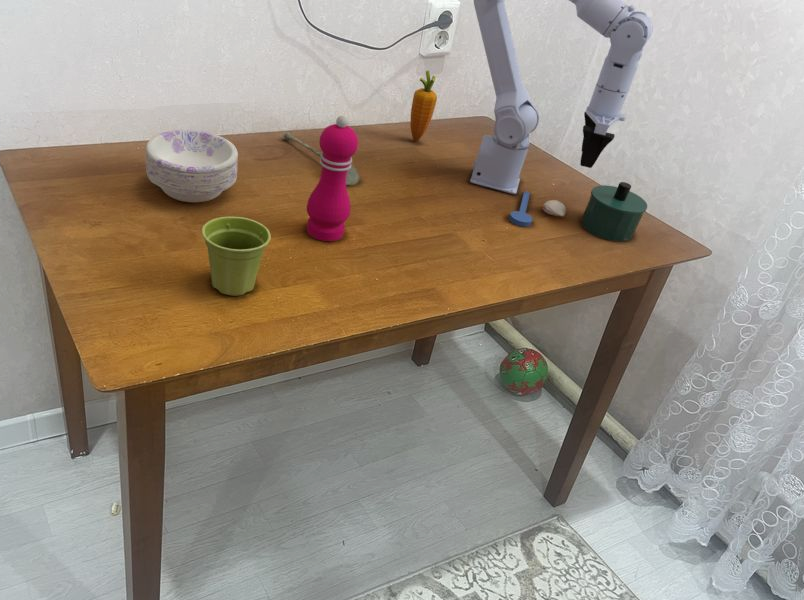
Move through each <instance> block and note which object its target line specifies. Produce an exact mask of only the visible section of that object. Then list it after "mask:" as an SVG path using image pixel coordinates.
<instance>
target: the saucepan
mask: <svg viewBox="0 0 804 600" xmlns="http://www.w3.org/2000/svg"><path fill="white" fill-rule="evenodd" d="M643 215H644V213H641V214H626V213H621V212H617V211H614V210H611V209H609V208H607V207H604V206H603V205H601V204H599V203H598V202H597V201H595V200H594V199H593V197H592V195H591V194H590V197H589V200H588V202H587V205H586V207H585V209H584V212H583V214H582V217H581V225H582V227H583V228H584V229H585V230H586V231H587V232H589V233H590V234H591V235H594V236H596V237H597V238H598V237H599V238H601V239H604V240H608V241H612V242H626V241H627V242H628V241H630V240H631V239H632V237H633V236H634V235H635V232H636V230H637V229H638V226H639V223H640V221H641V219H642V217H643Z"/></svg>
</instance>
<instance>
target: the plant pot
mask: <svg viewBox="0 0 804 600" xmlns="http://www.w3.org/2000/svg"><path fill="white" fill-rule="evenodd" d="M201 235H202V238H203V240H204V242H205V245H206V247H207V252H208V261H209V270H210V278H211V279H210V280H211V285H212V287H213V288H214V289H215V290H218V292H219V293H220V294H224V295H227V296H233V297H234V296H235V297H236V296H238V297H239V296H243V295H245V293H249V292H251V291H252V290H253V289H254V288H255V284H256V281H257V280H256V279H257V275H258V271H259V269H260V264H261V260H262V257H263V253H264V251H265V250H266V247H267V246H268V244H269V243H270V241H271V238H272V237H271V232H270V230H269V228H268V227H266V226H265V225H264V224H262V223H261V222H258V221H256V220H254V219H251V218H247V217H243V216H232V215H231V216H221V217H220V216H219V217H216V218H213V219H210V220H208V221H207V222H206V223H205V224H203V225H202V228H201Z"/></svg>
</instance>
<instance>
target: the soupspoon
mask: <svg viewBox="0 0 804 600" xmlns="http://www.w3.org/2000/svg"><path fill="white" fill-rule="evenodd" d="M282 137H283V140H285V141H289V140H290V141H292V142H295V143H297V144H299V145H301V146H302V147H304V148H306V150H309V151H310V152H312V153H313V154H315V155H317V156H318V157H320V158H321V154H322V153H323V152H320V151H318V150H317V149H316V148H314V147H312V146H311V145H308V144H307V143H305V142H304V141H301V140H300V139H298V138H297V137H296V136H293V135H292V134H291V132H290V131H285V132H284V133H283V135H282ZM360 177H361V176H360V173H359V172H358V170H357V168H356V167H355V166H354V165H353V164H351V168H350V169H349V170H348V171H347V175H346V186H355V185H357V184H358V183H359V182H360Z"/></svg>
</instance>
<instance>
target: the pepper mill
mask: <svg viewBox="0 0 804 600" xmlns="http://www.w3.org/2000/svg"><path fill="white" fill-rule="evenodd" d="M348 124H349V120H348V118H347V116H345V115H339V116H338V117H337V118H336V121H335V123H333V124H330V125H328V126H326V127H325V128H324V129H323V130H322V132H321V134H320V136H319V140H318V141H319V143H318V144H319V148H320V150H321V151H322V152H321V153H322V154H321V157H320V159H319V164H320V165H321V173H320V177H319V181H318V182H317V184H316V186H315V187H314V189H313V190H312V192H311V193H310V195H309V197H308V198H307V199H308V200H307V203H306V213H307V215H308V217H309V218H308V219H307V224H306V232H307V234H308V235H309V236H310V237H311V238H313V239H316V240H318V241H322V242H336V241H338V240H340V239H342V238H343V237H344V233H345V228H346V227H345V226H346V224H345V222H346V221H348V219H349V218H350V215H351V207H352V206H351V200H350V196H349V193H348V188H347V185H346V175H347V171H348V170H349V169H350V168H351V165H352V163H353V158H352V157H353V156H354V155H355V154H356V152H357V151H358V148H359V137H358V135H357V133H356V131H355V130H354V129H353V128H352V127H350V126H349V125H348Z"/></svg>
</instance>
